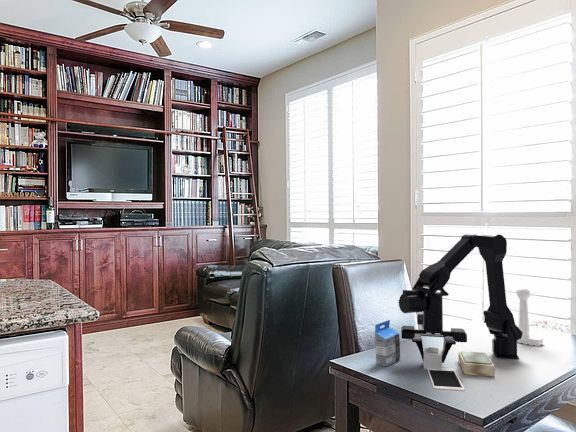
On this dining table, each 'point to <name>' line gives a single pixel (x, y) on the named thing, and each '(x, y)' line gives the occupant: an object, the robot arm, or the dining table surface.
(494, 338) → the robot arm
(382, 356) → the label tape box
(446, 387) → the cell phone
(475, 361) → the stand
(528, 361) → the dining table surface
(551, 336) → the dining table surface
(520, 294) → the joystick
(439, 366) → the box
